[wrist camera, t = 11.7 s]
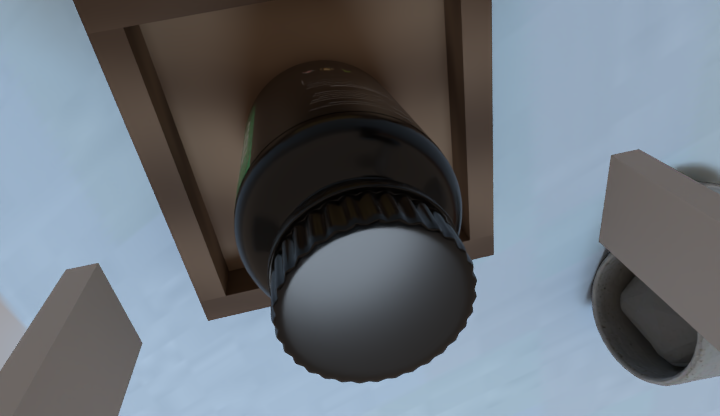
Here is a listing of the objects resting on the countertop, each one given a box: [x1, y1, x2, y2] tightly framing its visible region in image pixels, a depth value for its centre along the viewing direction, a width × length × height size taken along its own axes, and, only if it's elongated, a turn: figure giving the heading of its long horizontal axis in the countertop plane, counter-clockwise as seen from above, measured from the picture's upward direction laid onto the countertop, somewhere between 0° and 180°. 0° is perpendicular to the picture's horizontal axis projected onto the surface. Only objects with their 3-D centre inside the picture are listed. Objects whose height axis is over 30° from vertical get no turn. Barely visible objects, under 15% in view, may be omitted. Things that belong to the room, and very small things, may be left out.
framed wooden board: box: [73, 0, 494, 321], centre depth 19 cm, size 20×15×3 cm
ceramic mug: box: [592, 182, 720, 386], centre depth 26 cm, size 11×8×8 cm
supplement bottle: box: [234, 60, 477, 383], centre depth 16 cm, size 7×7×12 cm
